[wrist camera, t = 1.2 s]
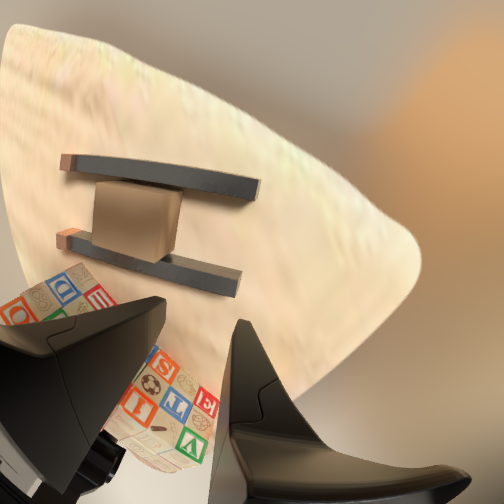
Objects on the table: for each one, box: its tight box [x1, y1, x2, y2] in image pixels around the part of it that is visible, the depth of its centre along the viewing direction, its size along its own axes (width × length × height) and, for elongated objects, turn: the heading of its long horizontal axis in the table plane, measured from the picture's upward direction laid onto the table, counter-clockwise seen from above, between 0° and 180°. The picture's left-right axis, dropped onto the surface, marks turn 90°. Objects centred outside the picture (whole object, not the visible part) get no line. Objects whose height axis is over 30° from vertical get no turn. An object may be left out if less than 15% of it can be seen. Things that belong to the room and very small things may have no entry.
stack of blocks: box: [0, 263, 220, 472], centre depth 21 cm, size 21×6×12 cm, turn 43°
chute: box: [56, 154, 261, 298], centre depth 21 cm, size 9×18×2 cm, turn 79°
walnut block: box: [92, 180, 183, 263], centre depth 20 cm, size 5×6×4 cm
